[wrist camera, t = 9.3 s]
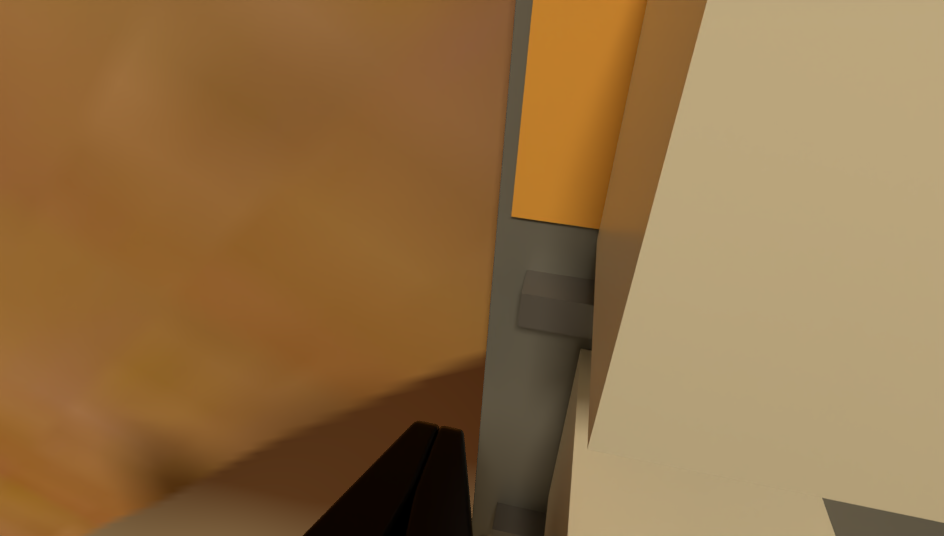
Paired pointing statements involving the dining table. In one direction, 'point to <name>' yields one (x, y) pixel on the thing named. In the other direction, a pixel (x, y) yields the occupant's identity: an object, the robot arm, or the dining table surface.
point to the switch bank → (564, 256)
